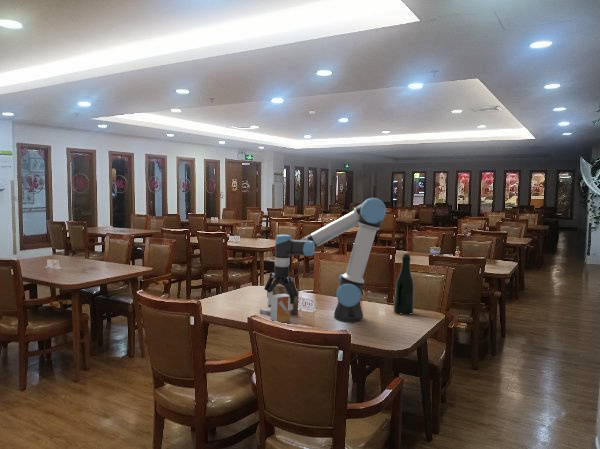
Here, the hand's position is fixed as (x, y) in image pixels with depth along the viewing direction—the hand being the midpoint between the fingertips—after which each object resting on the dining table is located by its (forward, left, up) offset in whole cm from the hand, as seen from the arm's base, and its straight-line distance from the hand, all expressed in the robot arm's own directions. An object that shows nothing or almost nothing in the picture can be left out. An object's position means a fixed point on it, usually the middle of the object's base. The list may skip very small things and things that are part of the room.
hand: (279, 307), depth 238 cm
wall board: (+10, -9, -7) cm, 15 cm away
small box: (0, 0, -7) cm, 7 cm away
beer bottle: (-38, -60, -7) cm, 72 cm away
